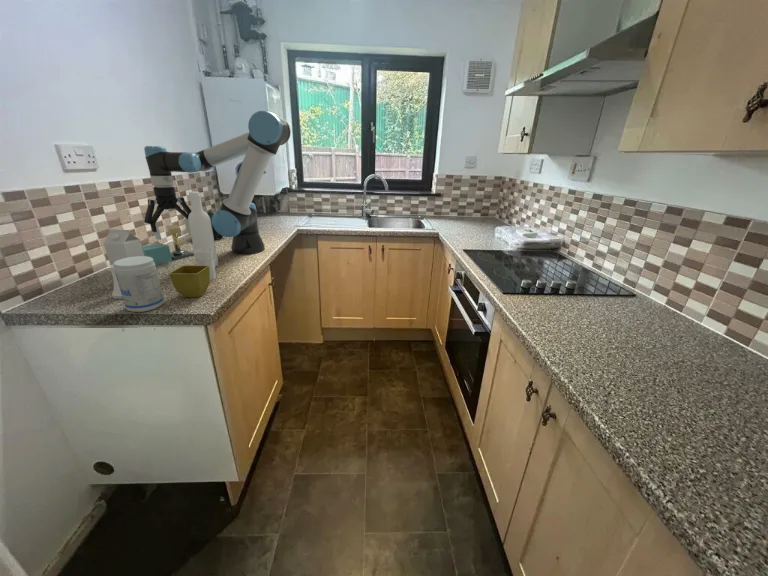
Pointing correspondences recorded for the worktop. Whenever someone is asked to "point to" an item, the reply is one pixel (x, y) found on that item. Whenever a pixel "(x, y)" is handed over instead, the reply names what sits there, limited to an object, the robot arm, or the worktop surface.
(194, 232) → the bottle
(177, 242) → the key
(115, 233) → the milk carton
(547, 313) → the worktop surface
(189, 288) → the flower pot
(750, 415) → the worktop surface
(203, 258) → the cup
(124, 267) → the supplement tub
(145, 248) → the teal block
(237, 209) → the robot arm
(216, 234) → the squash
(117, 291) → the salt shaker
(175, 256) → the plate
